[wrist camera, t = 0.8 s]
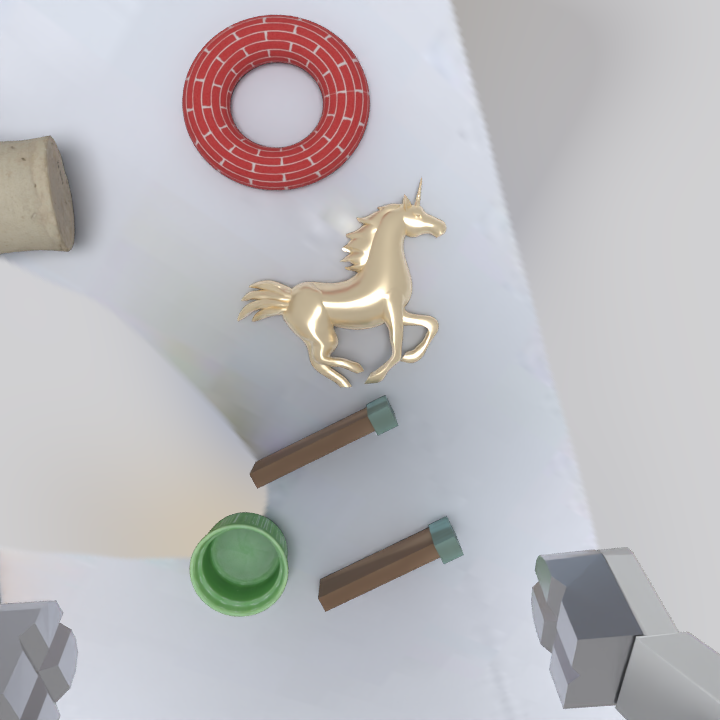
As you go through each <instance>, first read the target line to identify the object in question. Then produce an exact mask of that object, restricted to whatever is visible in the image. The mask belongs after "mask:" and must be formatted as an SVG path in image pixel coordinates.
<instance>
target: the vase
mask: <svg viewBox="0 0 720 720" xmlns="http://www.w3.org/2000/svg"><path fill="white" fill-rule="evenodd" d="M74 231H75V228H74V213H73V204H72V197H71V192H70V187H69V183H68V179H67V176H66V174H65V171H64V166H63V162H62V158H61V155H60V152H59V150H58V149H57V145H56V143H55V141H54V139H53V138H52V137H51V136H45V137H41V138H35V139H29V140H22V141H4V142H0V254H3V253H10V252H20V251H31V250H54V251H70V250H71V249H72V247H73V244H74Z"/></svg>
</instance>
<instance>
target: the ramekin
mask: <svg viewBox="0 0 720 720" xmlns="http://www.w3.org/2000/svg"><path fill="white" fill-rule="evenodd" d="M287 553H288V552H287V544H286V540H285V538H284V535H283V534H282V532H281V530H280V529H279V528H278V527H277V525H275V524H274V523H273V522H272V521H271V520H269V519H268V518H266V517H264V516H261V515H259V514H255V513H247V512H246V513H245V512H243V513H236V514H232V515H229V516H227V517H225V518H224V519H222V520H220V521H219V522H218V523H217V524H216V525H215V526H214V527H213V528H212V529H211V530H210V532H209V533H208V534H207V535H206V536H205V537H204V538H203V539H202V540H201V541H200V542H199V543H198V545H197V546H196V548H195V550H194V552H193V554H192V557H191V561H190V578H191V582H192V585H193V587H194V589H195V591H196V593H197V595H198V596H199V597H200V598H201V600H202V601H203V602H204V603H205V604H207V605H208V606H209V607H211V608H212V609H214V610H215V611H218V612H220V613H222V614H225V615H230V616H238V617H242V616H250V615H254V614H257V613H260V612H262V611H264V610H266V609H268V608H269V607H270V606H272V605H273V604H274V603H275V602H276V601H277V600H278V599H279V597H280V596H281V594H282V593H283V591H284V589H285V586H286V583H287V579H288V561H287Z"/></svg>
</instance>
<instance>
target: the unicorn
mask: <svg viewBox="0 0 720 720" xmlns="http://www.w3.org/2000/svg"><path fill="white" fill-rule="evenodd" d="M421 185H422V178H421V180H420V184H419V188H418V192H417V193H418V194H417V197H416V198H415V199H416V201H415V204H414V205H411V203H410V201H409V199H408V198H407V196H406V195H405V194H404V198H403V203H402V204H388V205H385V206H381V207H378V209H379V211H376V212H374V213H372V214H370V215H369V216H366V217H363V218H357V220H358V221H359V222H360V223H362V224H364V225H363V226H362V227H360V228H359V229H358V230H357V231H355V232H352V233H348V234H346V236H347V237H348V238H350V239H351V240H350V241H349V243H348V244H347V245H345V246H344V247H343V248H342V250H344V251H348V252H349V253H350V254H349V255H347V256H346V257H345V258H344V259H343V260H341V261H340V262H350V263H351V264H354V265H353V266H349V267H345V268H346V269H347V270H352V271H355V272H357V273H356V275H355V276H353V277H352V278H350V279H349V280H346V281H343V282H338V283H320V282H303V283H300V284H298V285H296V286H294V287H293V288H290V287H288V286H286V285H283V284H281V283H279V282H275V281H269V280H266V281H260V282H256V283H254V284H252V285H250V286H249V287H251V288H257V289H262V290H256V291H250V292H248V293H247V294H246V295H245V296H244V297H243V298H242V300H241V301H248V300H252V299H254V300H256V301H253V302H251V303H249V304H247V305H246V306H245V307H244V308H243V309H242V310H241V312H240V313H239V316H238V321H240V320H242V319H244V318H245V317H247V316H248V315H249V314H251V313H252V312H254V311H256V310H259V309H262V310H260V311H259V312H257V313H256V314H255V316H254V317H253V319H252V321H253V322H255V321H258V320H261V319H264V318H267V317H271V316H277V315H282V316H283V319H284V321H285V322H286V324H287V325H288V326H289V328H290V329H291V330H292V331H293V333H294V334H295V335H297V336H298V337H299V338H300V339H301V340H302V341H303V342H304V343H305V345H306V347H307V349H308V353H309V358H310V362H311V364H312V366H313V367H314V368H315V370H317V371H318V372H319V373H320V374H322V375H324V376H325V377H327V378H329V379H331V380H332V381H334V382H335V383H337V384H338V385H339V386H340V387H352V386H351V384H350V383H349V382H348V380H347V379H346V378H345V377H344V376H342V375H341V374H340V373H338V372H337V371H335V370H334V369H332V368H331V367H330V366H332V367H342V368H345V369H348V370H350V371H352V372H355V373H360V372H363V371H364V370H363V368H362V366H361V365H360V364H359V363H357V362H354V361H351V360H348V359H344V358H339V357H331V356H330V355H331V354H332V352H333V351H334V350H335V349H336V347H337V345H338V338H337V335H336V333H335V330H334V326H336V327H340V328H345V329H353V330H361V329H369V328H373V327H376V326H379V325H381V324H384V323H385V324H386V325H387V327H388V330H389V338H390V343H391V346H392V355H391V357H390V359H389V360H388V361H387V362H386V363H384V364H383V365H382V366H381V367H379V368H378V369H377V370H375V371H374V372H371V373H370V375H369V376H368V378H367V380H366V381H365V383H364V384H369V383H378V382H381V381H382V380H383V379H384V378H385V376H386V374H387V372H388V371H389V370H390V369H391V368H392V367H393V366H394V365H396V364H397V363H398V362H399V361H402V362H406V363H414V362H417V361H418V360H420V359H421V358H422V356H423V355H424V353H425V352H426V350H427V348H428V346H429V344H430V342H431V340H432V339H433V338H434V336H435V335H436V333H437V331H438V327H439V324H438V321H437V320H436V319H435V318H434V317H431V316H427V315H418V314H412V313H409V312H407V311H406V310H405V308H404V307H405V306H406V305H407V303H408V302H409V300H410V297H411V294H412V279H411V275H410V272H409V269H408V265H407V262H406V259H405V255H404V248H403V243H404V238H405V236H406V235H407V236H410V237H417V236H419V235H422V234H432V235H434V236H435V237H436V238H437V237H439V236H441V235H443V234H444V233H445V232H446V225H445V223H444V221H442V220H440V219H438V218H436V217H434V216H432V215H429V214H427V213H426V212H425V211H424V210H423V208H422V207H421V206H420V200H421V199H420V197H421V195H420V194H421V192H420V191H421ZM403 325H420V326H424V327H426V328H428V331H427V333H426V335H425V337H424V339H423V341H422V342H421V343H420V344H418V345H417V347H416V348H415V349H413V350H411V351H407V352H406V353H405V354H404V355H403V356H402V357H401V351H402V339H403Z"/></svg>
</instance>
